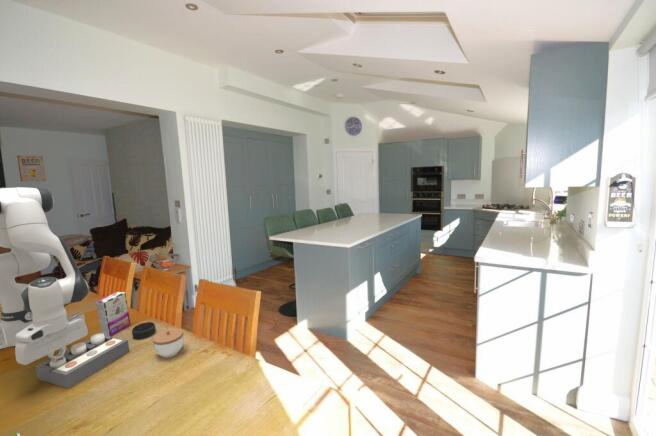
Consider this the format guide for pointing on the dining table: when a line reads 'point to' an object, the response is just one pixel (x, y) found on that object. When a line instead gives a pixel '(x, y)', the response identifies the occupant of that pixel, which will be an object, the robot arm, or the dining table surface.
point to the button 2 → (78, 349)
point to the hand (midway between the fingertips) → (58, 360)
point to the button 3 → (97, 339)
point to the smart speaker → (143, 330)
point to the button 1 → (58, 363)
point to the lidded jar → (168, 342)
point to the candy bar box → (113, 313)
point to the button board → (83, 362)
